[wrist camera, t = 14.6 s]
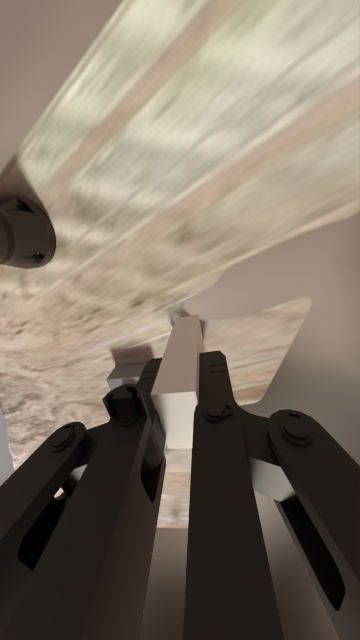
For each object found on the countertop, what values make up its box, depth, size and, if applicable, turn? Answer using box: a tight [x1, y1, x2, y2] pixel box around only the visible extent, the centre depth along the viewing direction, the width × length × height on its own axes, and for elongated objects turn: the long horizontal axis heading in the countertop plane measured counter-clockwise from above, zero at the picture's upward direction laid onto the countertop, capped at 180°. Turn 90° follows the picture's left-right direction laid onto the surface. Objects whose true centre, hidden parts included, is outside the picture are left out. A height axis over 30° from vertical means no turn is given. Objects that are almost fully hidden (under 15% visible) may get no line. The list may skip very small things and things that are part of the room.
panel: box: [107, 363, 167, 443], centre depth 57 cm, size 26×12×6 cm, turn 11°
